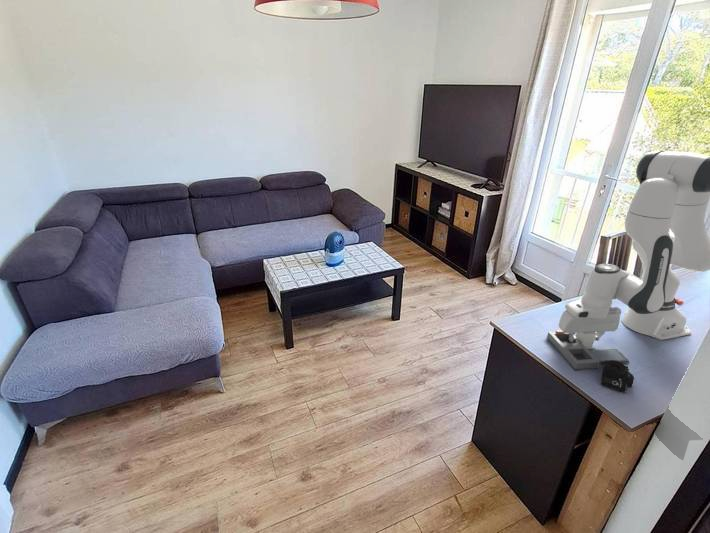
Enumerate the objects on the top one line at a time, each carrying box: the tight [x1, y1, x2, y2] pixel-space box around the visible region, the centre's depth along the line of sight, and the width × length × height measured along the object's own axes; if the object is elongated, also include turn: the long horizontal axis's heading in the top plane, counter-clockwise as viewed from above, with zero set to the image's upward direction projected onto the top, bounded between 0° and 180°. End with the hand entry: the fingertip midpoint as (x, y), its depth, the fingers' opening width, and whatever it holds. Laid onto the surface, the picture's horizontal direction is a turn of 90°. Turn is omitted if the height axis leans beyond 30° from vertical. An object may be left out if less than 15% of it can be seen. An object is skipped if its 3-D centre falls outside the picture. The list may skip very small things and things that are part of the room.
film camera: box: [600, 360, 635, 393], centre depth 118 cm, size 13×8×10 cm
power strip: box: [546, 329, 601, 371], centre depth 131 cm, size 8×18×4 cm, turn 3°
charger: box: [574, 332, 597, 350], centre depth 134 cm, size 4×4×7 cm
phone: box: [587, 348, 630, 366], centre depth 128 cm, size 13×6×1 cm, turn 93°
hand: (583, 340), depth 134 cm, fingers open, 7 cm apart
